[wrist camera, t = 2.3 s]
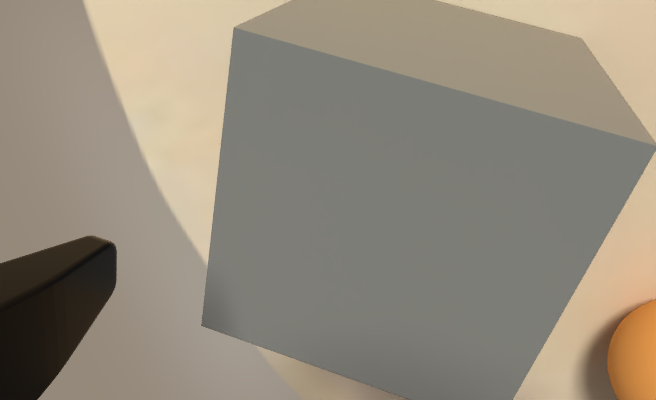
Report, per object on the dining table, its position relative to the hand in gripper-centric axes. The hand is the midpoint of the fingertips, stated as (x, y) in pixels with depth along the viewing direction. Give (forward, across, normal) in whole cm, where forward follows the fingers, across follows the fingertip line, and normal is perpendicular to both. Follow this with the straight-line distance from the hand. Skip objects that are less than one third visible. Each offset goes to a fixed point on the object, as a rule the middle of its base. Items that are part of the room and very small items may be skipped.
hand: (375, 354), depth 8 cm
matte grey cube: (+12, 0, +1) cm, 12 cm away
